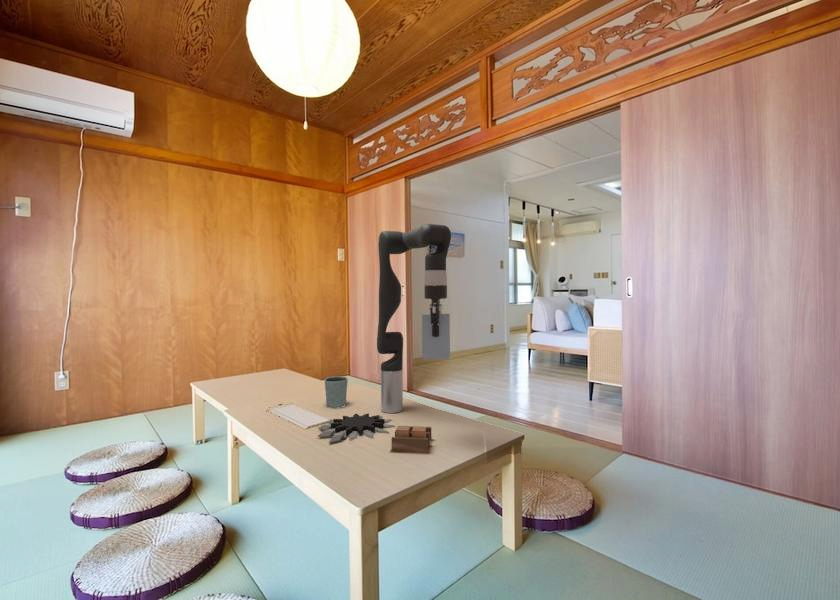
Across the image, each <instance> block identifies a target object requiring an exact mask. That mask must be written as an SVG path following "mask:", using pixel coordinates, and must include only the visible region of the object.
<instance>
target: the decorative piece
mask: <svg viewBox="0 0 840 600" xmlns="http://www.w3.org/2000/svg"><path fill="white" fill-rule="evenodd" d="M328 420H329V421H328V423H327V424H324V425H320V426H318V427H317V429H318V430H319V431H321V432H320V433H319V434H318V435H317V438H320V439H328V438H330V437H331V438H330V439H329V441H328V443H329V444H336V443H339V442H343V440H347V439H348V440H349V441H350V442H351V441H352V442H353V441H354V440H357V439H358V436H365V437H366V438H368V439H373V440H374V433H379V434H391V433H390V432H389V431H388V430H385V429H391V428H396V426H395V425H394V424H388V423H390V422H392V421H393V422H394V420H392V419H389V418H388V419H386V418H384V417H383V416H382V415H379V414H378V415H372V416H370V413H368V412H367V413H365V414H364V413H363V414H362V415H360V414H358V413H354V414H353V416H349V415H342V418H333V419H332V418H331V419H328Z"/></svg>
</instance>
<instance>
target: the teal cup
mask: <svg viewBox="0 0 840 600" xmlns="http://www.w3.org/2000/svg"><path fill="white" fill-rule="evenodd" d="M348 380H349V379H348V377H345V376H329V377H326V378H325V379H324V388H325V402H326V403H325V405H326V408H328V407H331V408H330V409H338V408H337V407H341V408H343V407H342V406H344V405H346V406H347V392H348V391H347V390H348ZM344 407H345V406H344Z"/></svg>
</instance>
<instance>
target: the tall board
mask: <svg viewBox="0 0 840 600" xmlns="http://www.w3.org/2000/svg"><path fill="white" fill-rule="evenodd" d="M450 317H451V315H450V313H442V314H441V318H440V319H439V323H440V324H439V325H438V326H439V336H438V337H433V336H432V326H433V325H432V324H431V318H430V313H422V314H421V337H422V338H421V340H422V341H421V347H422V348H421V349H422V351H421V354H422V355H421V356H422V359H421V360H439V361H440V360H442V361H443V360H444V361H446V360H447V361H449V360H450V359H451V331H450V330H451V325H450V324H451V323H450V321H451V320H450V319H451V318H450ZM433 320H437V318H434V319H433Z"/></svg>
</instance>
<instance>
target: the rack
mask: <svg viewBox="0 0 840 600" xmlns="http://www.w3.org/2000/svg"><path fill="white" fill-rule="evenodd" d="M397 427H410V437H396V430H395V431H394V436H392V437H391V449H390V451H389V453H393V454H394V453H395V454H409V455H410V454H411V455H412V454H416V455H430V453H431V452H430V451H431V448H432V445H433V440H434V439H433V438H432V426H424V427H425V428H426V438H412V429H413V427H419V426H415V425H412V426H411V425H398V426H397Z"/></svg>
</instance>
